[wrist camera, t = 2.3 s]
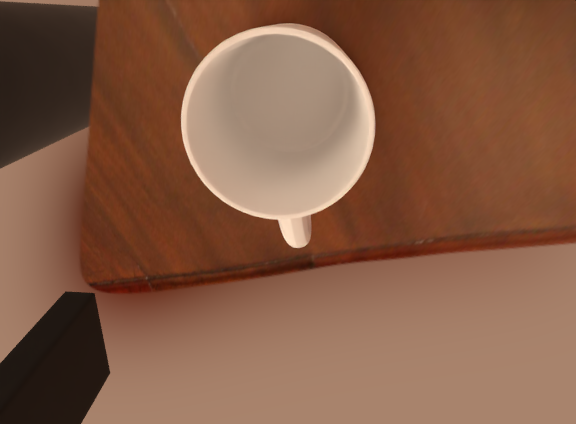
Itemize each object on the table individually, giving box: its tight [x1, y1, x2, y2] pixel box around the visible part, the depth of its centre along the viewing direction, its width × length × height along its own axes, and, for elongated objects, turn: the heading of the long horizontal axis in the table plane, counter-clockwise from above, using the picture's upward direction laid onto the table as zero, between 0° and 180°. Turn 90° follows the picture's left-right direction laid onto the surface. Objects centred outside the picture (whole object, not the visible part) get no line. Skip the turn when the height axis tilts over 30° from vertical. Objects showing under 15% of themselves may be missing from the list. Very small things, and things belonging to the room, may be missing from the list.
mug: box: [181, 23, 375, 248], centre depth 23 cm, size 12×8×10 cm
